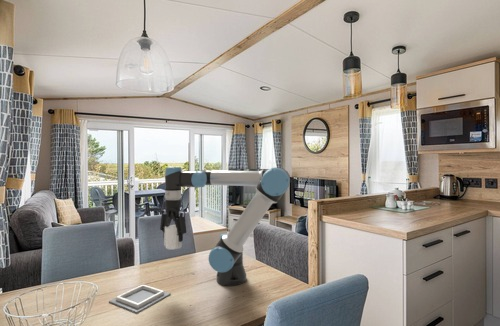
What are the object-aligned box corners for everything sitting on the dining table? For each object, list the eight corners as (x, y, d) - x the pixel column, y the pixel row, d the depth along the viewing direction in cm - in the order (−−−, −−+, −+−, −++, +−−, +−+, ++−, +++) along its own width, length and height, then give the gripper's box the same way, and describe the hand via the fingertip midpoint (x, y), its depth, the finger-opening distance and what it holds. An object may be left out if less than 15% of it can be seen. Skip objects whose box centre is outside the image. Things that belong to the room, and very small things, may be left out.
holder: (170, 294, 127) (170, 290, 127) (136, 313, 111) (136, 308, 111) (143, 286, 136) (143, 281, 136) (108, 302, 120) (108, 297, 120)
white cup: (166, 250, 129) (166, 229, 129) (163, 246, 136) (163, 225, 136) (183, 248, 132) (183, 227, 132) (179, 244, 139) (179, 224, 139)
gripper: (152, 198, 136) (151, 245, 136) (183, 201, 125) (183, 252, 126) (164, 196, 142) (163, 241, 142) (194, 199, 132) (194, 248, 132)
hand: (172, 246), depth 134 cm, fingers closed on white cup, 7 cm apart
